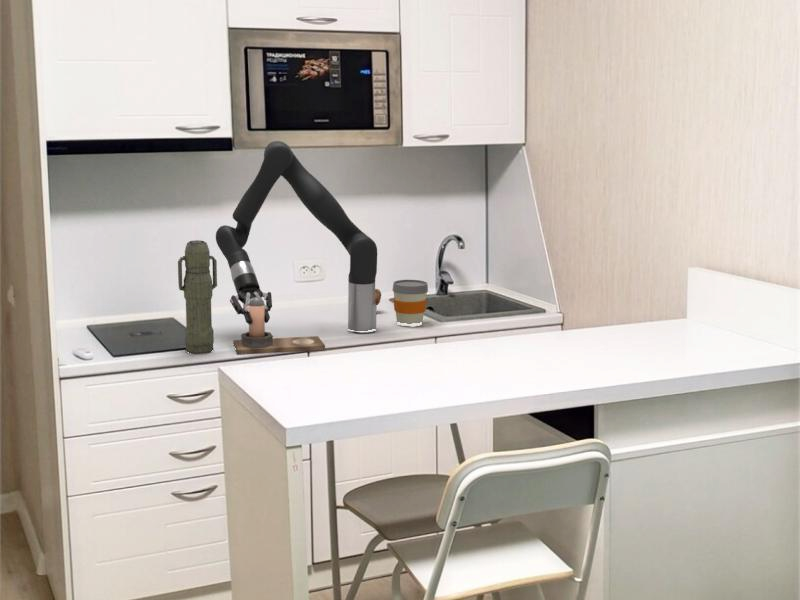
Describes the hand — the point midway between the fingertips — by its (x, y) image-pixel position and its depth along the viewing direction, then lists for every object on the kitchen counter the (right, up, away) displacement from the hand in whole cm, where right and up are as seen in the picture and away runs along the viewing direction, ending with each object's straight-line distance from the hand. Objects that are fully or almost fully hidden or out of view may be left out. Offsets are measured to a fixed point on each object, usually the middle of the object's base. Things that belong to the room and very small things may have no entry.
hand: (259, 322), depth 318 cm
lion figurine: (+32, +2, +53) cm, 62 cm away
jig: (+6, -8, +5) cm, 11 cm away
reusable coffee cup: (+48, -2, +39) cm, 62 cm away
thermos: (-19, -9, 0) cm, 21 cm away
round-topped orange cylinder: (-1, -6, +3) cm, 7 cm away
